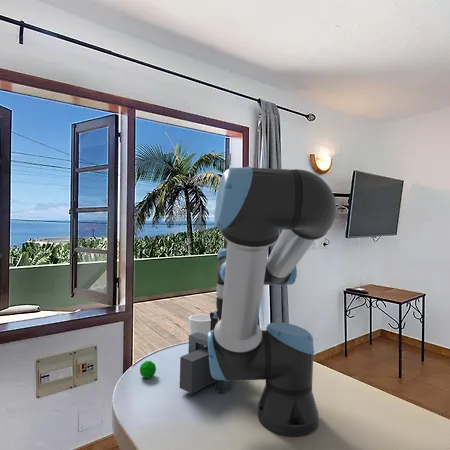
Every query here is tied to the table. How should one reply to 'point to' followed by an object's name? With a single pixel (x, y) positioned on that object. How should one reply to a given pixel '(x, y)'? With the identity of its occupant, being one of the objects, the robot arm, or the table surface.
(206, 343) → the grey arch
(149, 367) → the polyhedron
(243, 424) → the table surface
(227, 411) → the table surface
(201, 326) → the foam cup
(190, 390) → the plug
